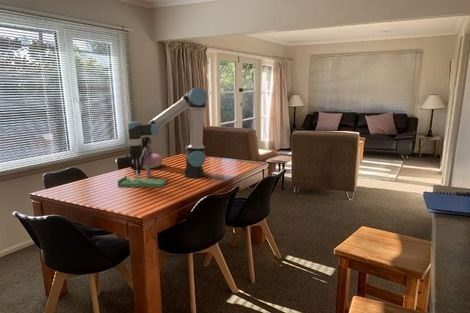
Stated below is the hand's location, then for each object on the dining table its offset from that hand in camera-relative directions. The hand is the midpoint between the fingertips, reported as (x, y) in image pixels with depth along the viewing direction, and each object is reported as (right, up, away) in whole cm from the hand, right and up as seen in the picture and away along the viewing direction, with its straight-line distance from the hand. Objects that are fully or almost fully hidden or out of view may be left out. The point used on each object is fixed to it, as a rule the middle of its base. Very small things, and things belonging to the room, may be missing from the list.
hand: (137, 178), depth 224 cm
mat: (+4, -4, 0) cm, 5 cm away
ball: (-4, -2, +1) cm, 4 cm away
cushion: (-7, +6, +54) cm, 55 cm away
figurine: (+2, 0, +21) cm, 21 cm away
